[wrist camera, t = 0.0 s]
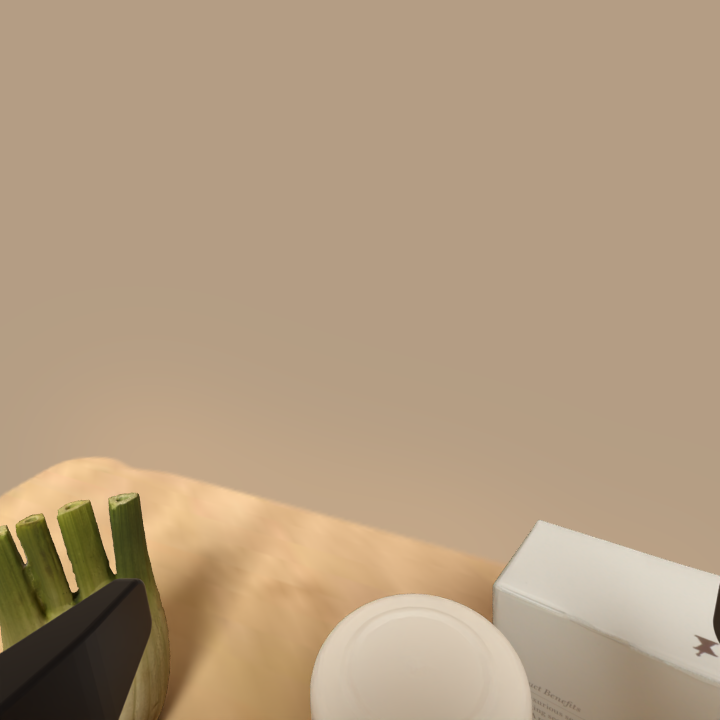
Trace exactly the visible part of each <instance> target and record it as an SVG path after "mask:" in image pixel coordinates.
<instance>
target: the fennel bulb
mask: <svg viewBox="0 0 720 720" xmlns="http://www.w3.org/2000/svg"><path fill="white" fill-rule="evenodd" d="M109 515H110V523H111V530H112V538H113V546H114V553H115V560H116V570H117V574H115V575H114V574H113V572H112V570H111V569H110V567H109V561H108V559H107V556H106V553H105V550H104V547H103V544H102V540H101V537H100V533H99V529H98V525H97V522H96V519H95V516H94V512H93V509H92V505H91V502H90V500H80V501H75V502H71V503H68V504H66V505H64V506H63V507H61V508H60V509H59V510H58V516H57V520H58V523H59V526H60V529H61V533H62V536H63V540H64V543H65V547H66V549H67V555H68V557H69V560H70V561H71V563H72V568H73V573H74V574H75V577H76V582H77V587H79V589H78V591H77V592H75V593H72V592H71V590H70V588H69V584H68V582H67V579H66V576H65V574H64V571H63V567H62V564H61V561H60V559H59V556H58V554H57V551H56V548H55V546H54V543H53V541H52V538H51V535H50V532H49V529H48V527H47V524H46V521H45V517H44V516H43V514H42V513H41V514H37V515H31V516H29V517H26V518H25V519H23V520H21V521H19V523H17V524H16V528H17V529H16V533H17V537H18V538H19V540H20V542H21V546H22V547H23V549H24V553H25V555H26V558H27V563H26V564H24V562H23V560H22V557H21V555H20V554H19V552H18V550H17V547H16V545H15V543H14V541H13V538H12V536H11V533H10V531H9V529H8V527H7V525H4V526H0V626H1V636H2V643H3V651H5V650H6V649H8V648H10V647H11V646H13V645H14V644H16V643H17V642H19V641H20V640H22V639H23V638H25V637H27V636H28V635H30V634H31V633H33V632H34V631H36V630H37V629H39V628H40V627H42V626H44V625H45V624H47V623H48V622H50V621H51V620H53V619H54V618H56V617H57V616H59V615H61V614H62V613H64V612H65V611H67V610H68V609H70V608H71V607H73V606H74V605H76V604H78V603H79V602H81V601H82V600H84V599H85V598H87V597H88V596H90V595H91V594H93V593H95V592H96V591H98V590H99V589H101V588H102V587H104V586H105V585H107V584H108V583H110V582H112V581H113V580H116V579H120V578H137V579H140V580H142V581H143V582H144V584H145V588H146V592H147V597H148V602H149V607H150V612H151V617H152V629H151V634H150V637H149V640H148V642H147V645H146V648H145V650H144V653H143V656H142V659H141V661H140V664H139V667H138V669H137V672H136V675H135V678H134V680H133V683H132V686H131V688H130V691H129V694H128V696H127V699H126V702H125V705H124V707H123V710H122V713H121V715H120V718H119V720H157V719H158V717H159V715H160V712H161V710H162V707H163V705H164V701H165V697H166V693H167V687H168V680H169V673H170V649H169V638H168V628H167V623H166V617H165V613H164V609H163V607H162V603H161V600H160V595H159V592H158V589H157V586H156V583H155V579H154V575H153V572H152V568H151V563H150V559H149V555H148V551H147V545H146V539H145V532H144V527H143V519H142V512H141V504H140V497H139V494H138V493H129V494H120V495H117V496H113V497H111V498H109Z"/></svg>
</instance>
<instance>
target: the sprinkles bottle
mask: <svg viewBox="0 0 720 720" xmlns="http://www.w3.org/2000/svg"><path fill="white" fill-rule="evenodd" d="M310 707H311V720H532V698H531V692H530V686H529V683H528V679H527V675H526V672H525V669H524V667H523V665H522V662H521V660H520V659H519V657H518V655H517V653H516V651H515V650H514V648H513V647H512V645H511V644H510V642H509V641H508V640H507V639H506V637H505V636H504V635H503V634H502V633H501V632H500V630H498V629H497V628H496V627H495V626H494V625H493V624H492V623H491V622H490V621H488V620H487V619H486V618H484V617H483V616H482V615H480V614H479V613H477V612H476V611H474V610H472V609H470V608H468V607H466V606H464V605H462V604H460V603H457V602H455V601H452V600H450V599H446V598H442V597H439V596H433V595H427V594H399V595H393V596H388V597H384V598H381V599H378V600H375V601H372V602H370V603H367V604H365V605H363V606H362V607H360V608H358V609H356V610H355V611H353V612H352V613H350V614H349V615H347V616H346V617H345V618H344V619H343V620H342V621H340V622H339V623H338V624H337V626H336V627H335V628H334V629H333V630H332V631H331V633H330V634H329V635H328V637H327V638H326V640H325V642H324V643H323V645H322V646H321V649H320V651H319V653H318V655H317V658H316V661H315V664H314V667H313V672H312V677H311V684H310Z"/></svg>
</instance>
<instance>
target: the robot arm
mask: <svg viewBox="0 0 720 720" xmlns="http://www.w3.org/2000/svg"><path fill="white" fill-rule="evenodd" d="M713 628H714V632H715V635H716V637H717V640H718V642H719V643H720V584H719V589H718V594H717V600H716V605H715V610H714V616H713ZM151 629H152V617H151V612H150V607H149V602H148V597H147V592H146V588H145V584H144V582H143V581H142V580H140V579H137V578H120V579H116V580H113V581H112V582H110V583H108V584H107V585H105V586H104V587H102V588H101V589H99V590H98V591H96V592H95V593H93V594H91V595H90V596H88V597H87V598H85V599H84V600H82V601H81V602H79V603H78V604H76V605H74V606H73V607H71V608H70V609H68V610H67V611H65V612H64V613H62V614H61V615H59V616H57V617H56V618H54V619H53V620H51V621H50V622H48V623H47V624H45V625H44V626H42V627H40V628H39V629H37V630H36V631H34V632H33V633H31V634H30V635H28V636H27V637H25V638H23V639H22V640H20V641H19V642H17V643H16V644H14V645H13V646H11V647H10V648H8V649H6V650H5V651H3V652H2V653H0V720H119V718H120V715H121V713H122V710H123V707H124V705H125V702H126V699H127V696H128V694H129V691H130V688H131V686H132V683H133V680H134V678H135V675H136V672H137V669H138V667H139V664H140V661H141V659H142V656H143V653H144V650H145V648H146V645H147V642H148V640H149V637H150V634H151Z"/></svg>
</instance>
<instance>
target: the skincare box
mask: <svg viewBox="0 0 720 720" xmlns="http://www.w3.org/2000/svg"><path fill="white" fill-rule="evenodd" d="M719 584H720V576H719V575H716V574H712V573H709V572H706V571H702V570H698V569H695V568H692V567H688V566H685V565H681V564H678V563H675V562H672V561H669V560H666V559H662V558H659V557H656V556H652V555H649V554H646V553H643V552H640V551H637V550H633V549H631V548H627V547H624V546H621V545H618V544H615V543H612V542H609V541H605V540H602V539H599V538H596V537H593V536H589V535H586V534H583V533H579V532H576V531H573V530H570V529H567V528H564V527H560V526H557V525H554V524H551V523H548V522H545V521H542V520H538V521H537V522H536V524H535V526H534V527H533V529H532V530H531V531H530V533H529V534H528V536H527V537H526V538H525V540H524V541H523V543H522V544H521V545H520V547H519V548H518V550H517V551H516V553H515V554H514V555H513V557H512V558H511V560H510V561H509V563H508V564H507V565H506V567H505V568H504V570H503V571H502V573H501V574H500V576H499V577H498V578H497V580H496V581H495V583H494V585H493V625H494V626H495V627H496V628H497V629H498V630H500V632H501V633H502V634H503V635H504V636H505V637H506V639H507V640H508V641H509V642H510V644H511V645H512V647H513V648H514V650H515V651H516V653H517V655H518V657H519V659H520V660H521V662H522V665H523V667H524V669H525V672H526V675H527V679H528V683H529V686H530V692H531V698H532V720H720V643H719V642H718V640H717V637H716V635H715V632H714V628H713V616H714V610H715V605H716V600H717V594H718V589H719Z"/></svg>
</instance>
